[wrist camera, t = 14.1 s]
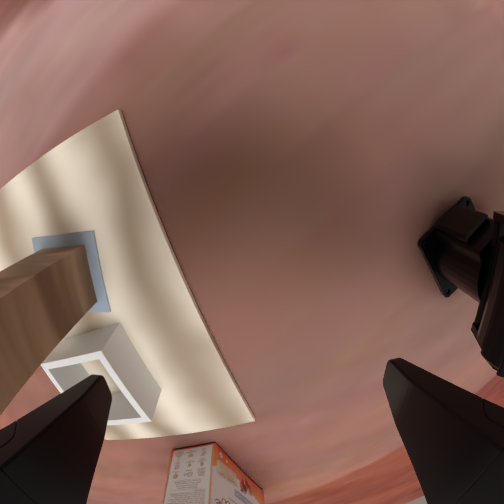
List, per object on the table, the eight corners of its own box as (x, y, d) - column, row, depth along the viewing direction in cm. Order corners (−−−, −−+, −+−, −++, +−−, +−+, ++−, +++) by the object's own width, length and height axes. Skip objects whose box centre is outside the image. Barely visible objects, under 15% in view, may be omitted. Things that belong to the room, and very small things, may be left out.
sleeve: (120, 322, 21) (100, 350, 17) (161, 389, 23) (151, 421, 19) (61, 339, 22) (40, 364, 18) (101, 398, 24) (87, 426, 20)
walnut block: (84, 244, 19) (-44, 331, 7) (97, 301, 20) (0, 414, 8) (41, 249, 19) (-78, 321, 7) (54, 301, 20) (-43, 394, 8)
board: (121, 110, 17) (116, 109, 17) (254, 416, 25) (254, 422, 24) (-21, 211, 19) (-27, 212, 18) (107, 436, 26) (105, 441, 26)
